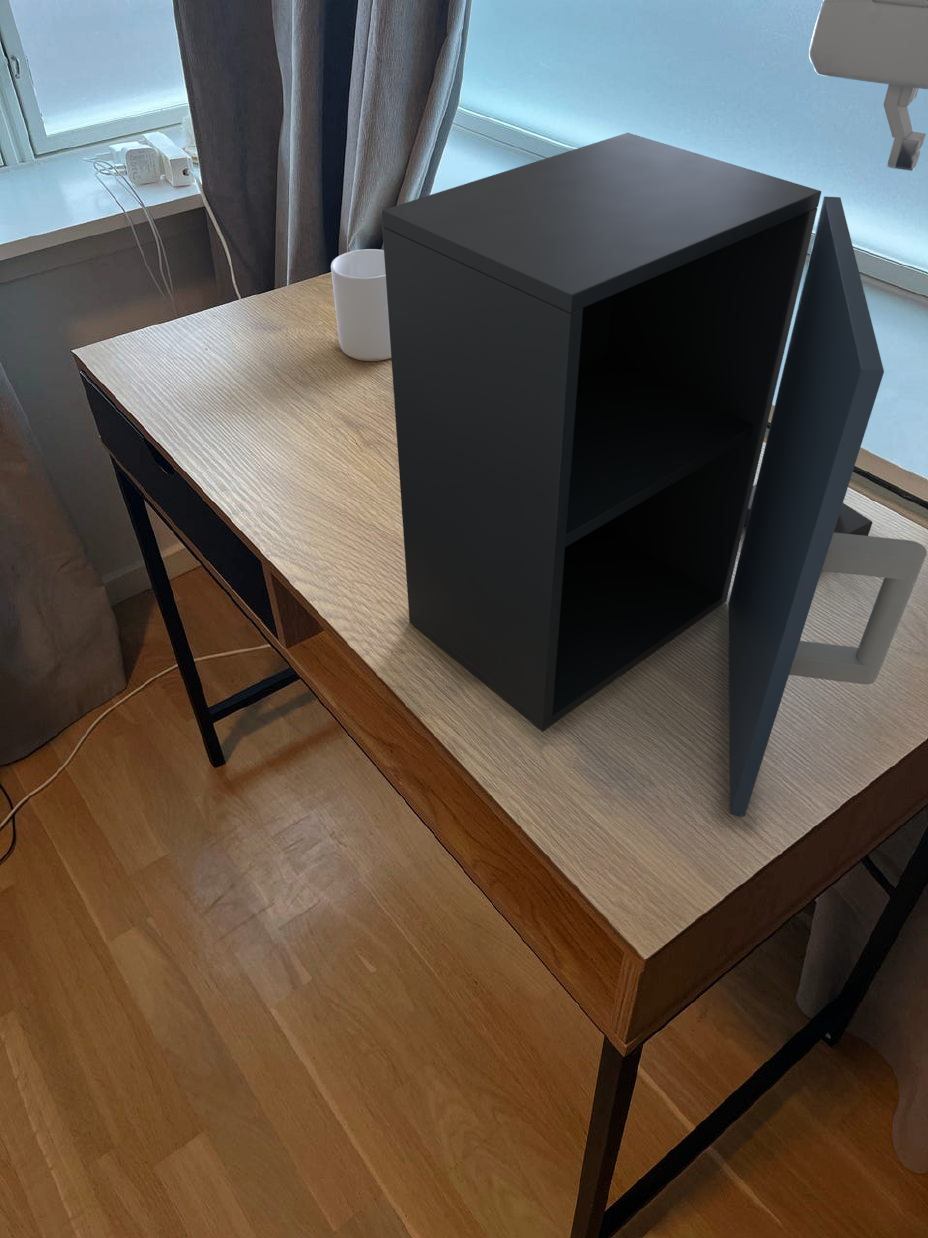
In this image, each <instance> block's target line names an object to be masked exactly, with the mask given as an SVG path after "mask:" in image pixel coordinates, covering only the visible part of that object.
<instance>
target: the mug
mask: <svg viewBox="0 0 928 1238" xmlns="http://www.w3.org/2000/svg"><path fill="white" fill-rule="evenodd" d="M330 272H331V281H332V289H333V301H334V308H335V309H334V310H335V317H336V326H337V337H338V343H339V347H340V349H341V350H342V352H343V353H344V354H345V355H346V356H348V357H349V358H352V359H355V360H357V361H364V362H379V361H385V360H386V361H387V360H389V359H391V346H390V331H389V317H388V302H387V288H386V273H385V259H384V249H377V248H366V249H365V248H364V249H356V250H351V251H348V252H345V253H342V254H340V255H338V256H336V257H335V258H334V259H332V261H331V263H330Z"/></svg>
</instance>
